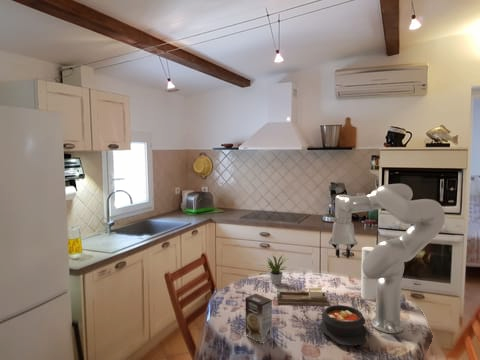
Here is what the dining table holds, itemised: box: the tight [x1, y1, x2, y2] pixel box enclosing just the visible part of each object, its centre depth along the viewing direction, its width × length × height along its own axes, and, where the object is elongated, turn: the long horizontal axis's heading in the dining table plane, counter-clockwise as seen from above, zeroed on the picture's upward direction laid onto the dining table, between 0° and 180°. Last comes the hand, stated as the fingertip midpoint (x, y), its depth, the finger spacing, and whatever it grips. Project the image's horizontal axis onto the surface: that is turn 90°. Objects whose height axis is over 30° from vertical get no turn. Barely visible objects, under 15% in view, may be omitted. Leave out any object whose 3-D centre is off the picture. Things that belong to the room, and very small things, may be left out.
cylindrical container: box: [360, 246, 377, 301], centre depth 175 cm, size 7×7×25 cm
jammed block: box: [308, 286, 324, 299], centre depth 173 cm, size 6×6×4 cm
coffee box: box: [245, 293, 273, 344], centre depth 140 cm, size 9×6×16 cm
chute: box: [276, 288, 329, 307], centre depth 174 cm, size 12×24×4 cm, turn 85°
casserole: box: [319, 304, 368, 346], centre depth 142 cm, size 25×19×8 cm
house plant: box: [266, 254, 288, 286], centre depth 195 cm, size 14×14×16 cm
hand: (342, 256), depth 170 cm, fingers open, 3 cm apart
